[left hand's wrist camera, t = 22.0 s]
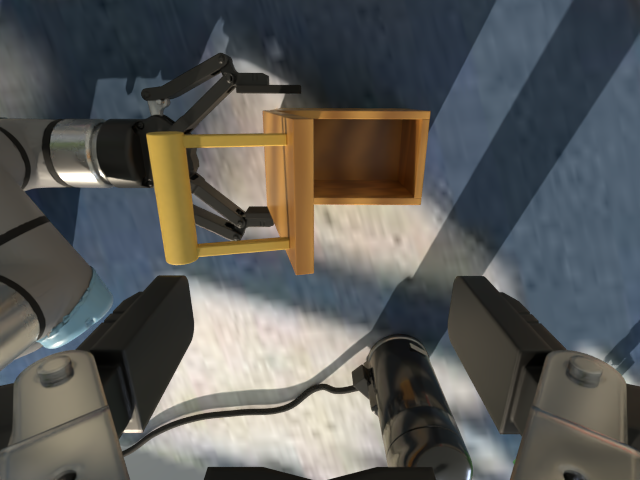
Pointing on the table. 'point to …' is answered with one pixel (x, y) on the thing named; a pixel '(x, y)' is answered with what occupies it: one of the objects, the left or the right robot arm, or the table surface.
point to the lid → (281, 185)
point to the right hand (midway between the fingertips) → (301, 154)
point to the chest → (367, 154)
